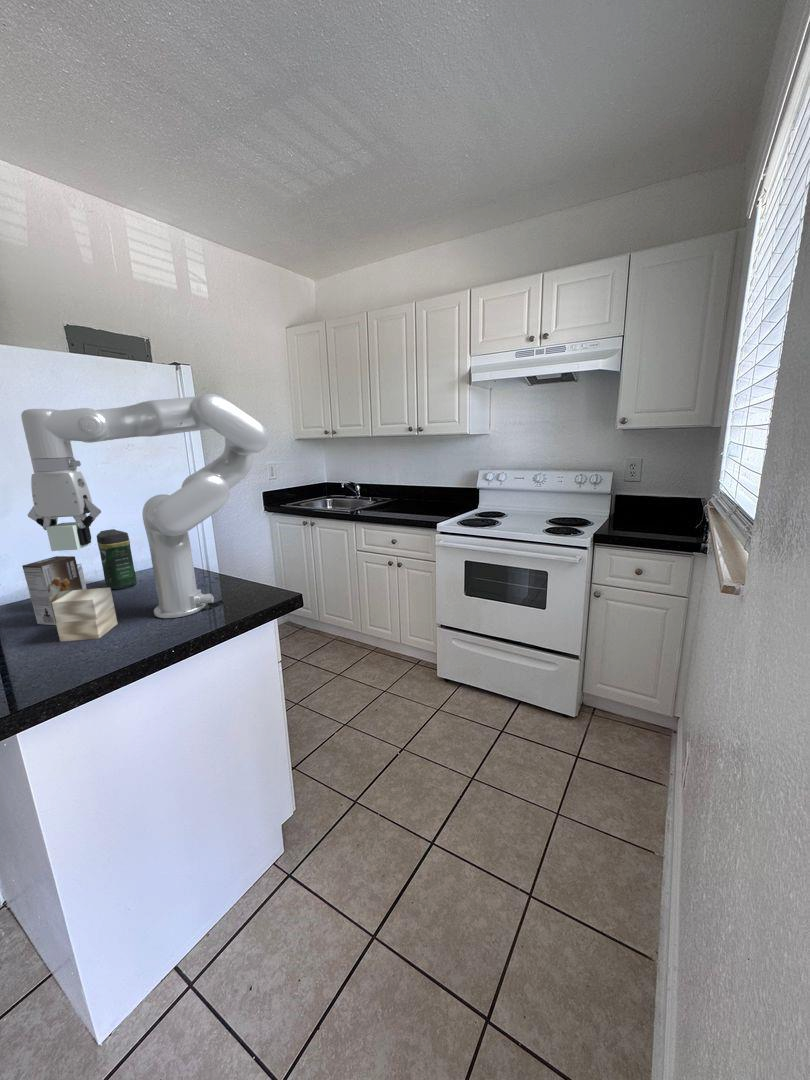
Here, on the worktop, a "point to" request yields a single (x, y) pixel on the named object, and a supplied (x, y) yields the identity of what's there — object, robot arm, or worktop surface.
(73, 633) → the birch base block
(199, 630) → the worktop surface
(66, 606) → the maple top block
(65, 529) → the sage block
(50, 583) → the coffee box
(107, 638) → the worktop surface
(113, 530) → the coffee jar
